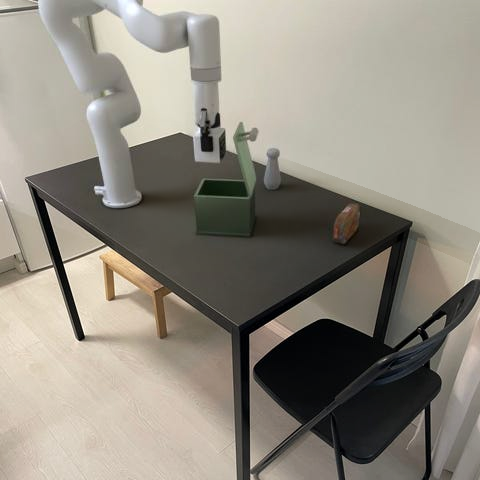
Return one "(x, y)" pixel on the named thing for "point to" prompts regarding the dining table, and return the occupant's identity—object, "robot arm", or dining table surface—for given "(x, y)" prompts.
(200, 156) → the medicine bottle
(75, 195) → the dining table surface
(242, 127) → the bin lid
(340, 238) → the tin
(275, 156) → the salt shaker
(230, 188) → the bin
